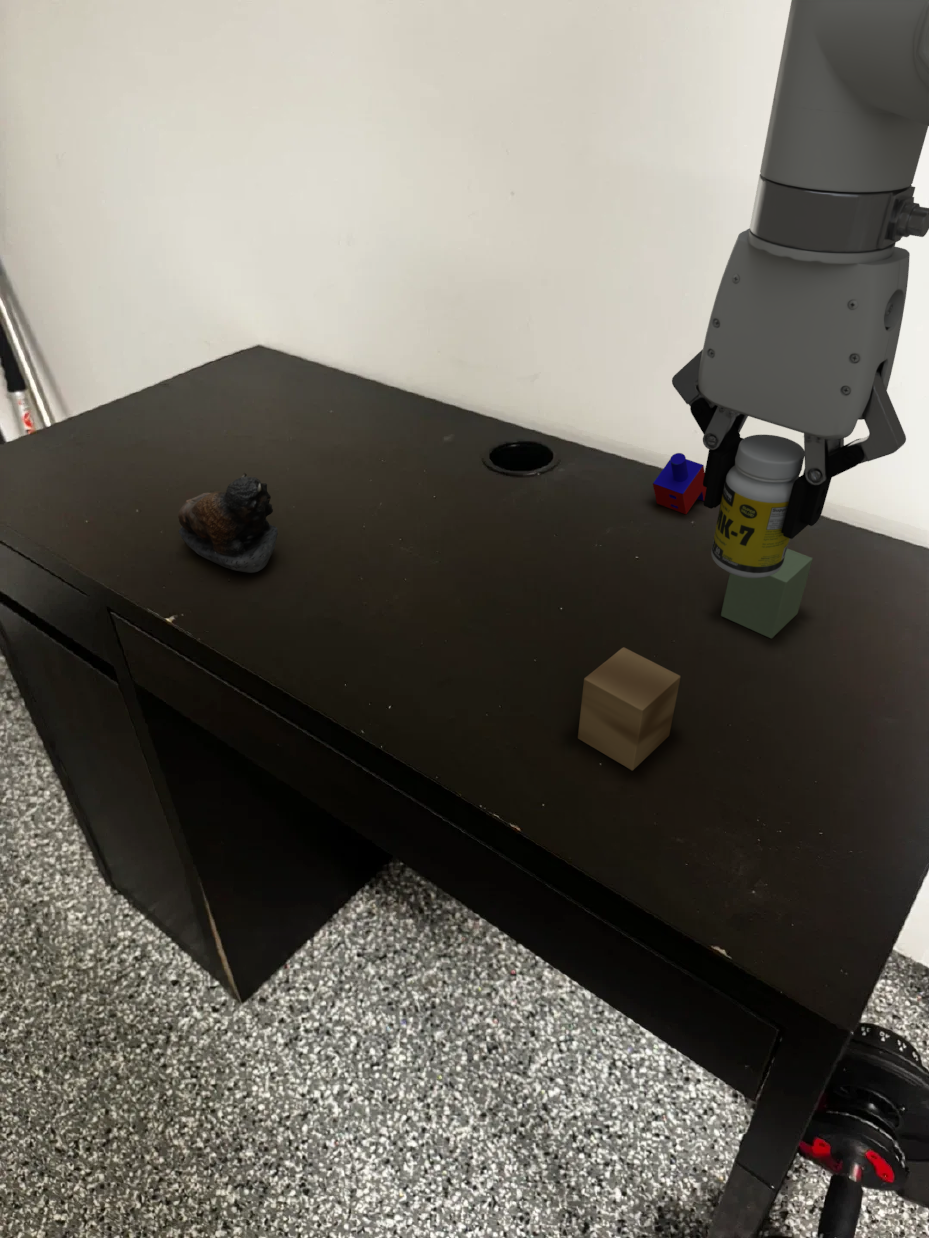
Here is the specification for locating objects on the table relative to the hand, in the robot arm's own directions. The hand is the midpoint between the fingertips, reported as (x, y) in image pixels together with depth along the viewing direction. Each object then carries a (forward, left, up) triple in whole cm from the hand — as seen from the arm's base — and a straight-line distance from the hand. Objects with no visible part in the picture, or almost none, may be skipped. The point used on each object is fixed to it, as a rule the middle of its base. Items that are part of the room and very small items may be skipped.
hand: (757, 511), depth 58 cm
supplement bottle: (0, 0, -4) cm, 4 cm away
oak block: (+7, +2, -18) cm, 20 cm away
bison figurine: (+42, -22, -19) cm, 51 cm away
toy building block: (-3, -34, -19) cm, 39 cm away
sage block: (-7, -14, -18) cm, 24 cm away
